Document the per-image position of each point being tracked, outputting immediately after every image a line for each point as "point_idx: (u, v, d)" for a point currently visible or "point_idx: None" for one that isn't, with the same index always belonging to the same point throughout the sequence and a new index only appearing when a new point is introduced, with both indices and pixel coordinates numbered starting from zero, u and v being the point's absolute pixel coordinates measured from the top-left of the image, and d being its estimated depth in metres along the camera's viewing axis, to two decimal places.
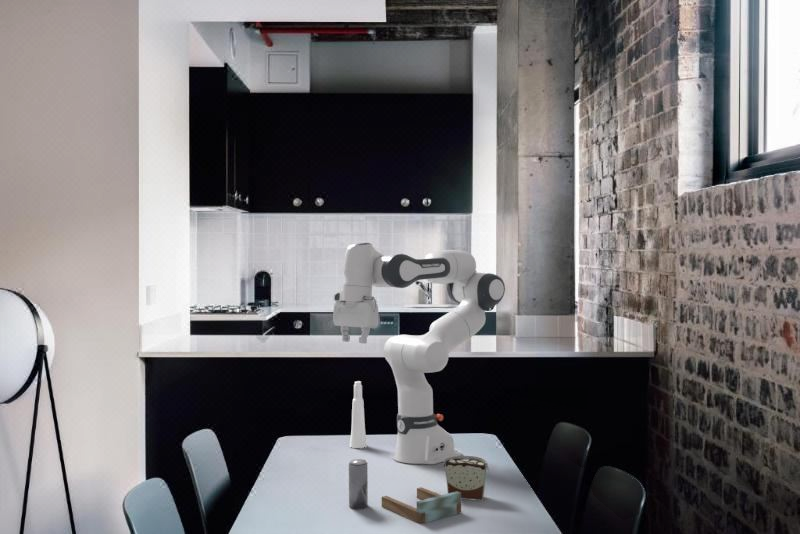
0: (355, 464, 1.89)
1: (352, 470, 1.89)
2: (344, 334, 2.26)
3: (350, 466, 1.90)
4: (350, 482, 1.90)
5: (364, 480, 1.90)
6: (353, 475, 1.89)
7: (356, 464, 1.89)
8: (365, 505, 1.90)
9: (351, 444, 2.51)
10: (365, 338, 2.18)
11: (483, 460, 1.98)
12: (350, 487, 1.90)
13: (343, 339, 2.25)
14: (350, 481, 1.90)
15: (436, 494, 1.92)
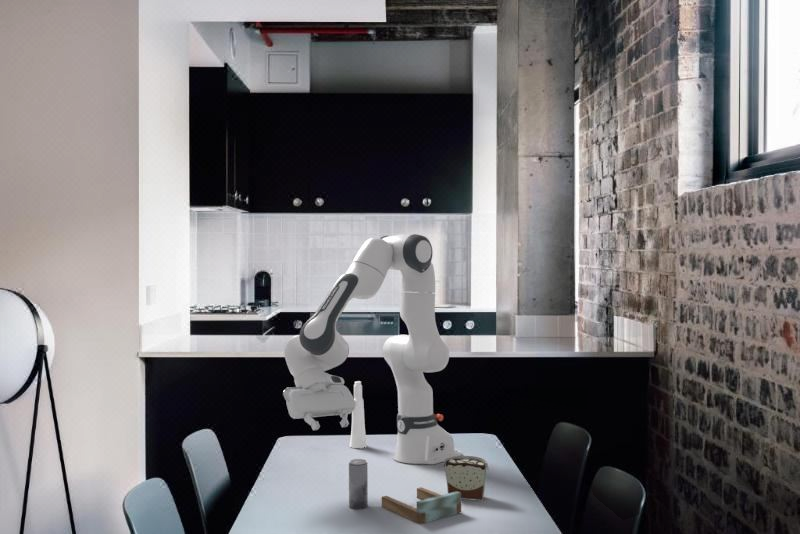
0: (355, 464, 1.89)
1: (352, 470, 1.89)
2: None
3: (350, 466, 1.90)
4: (350, 482, 1.90)
5: (364, 480, 1.90)
6: (353, 475, 1.89)
7: (356, 464, 1.89)
8: (365, 505, 1.90)
9: (351, 444, 2.51)
10: (313, 423, 1.98)
11: (483, 460, 1.98)
12: (350, 487, 1.90)
13: None
14: (350, 481, 1.90)
15: (436, 494, 1.92)
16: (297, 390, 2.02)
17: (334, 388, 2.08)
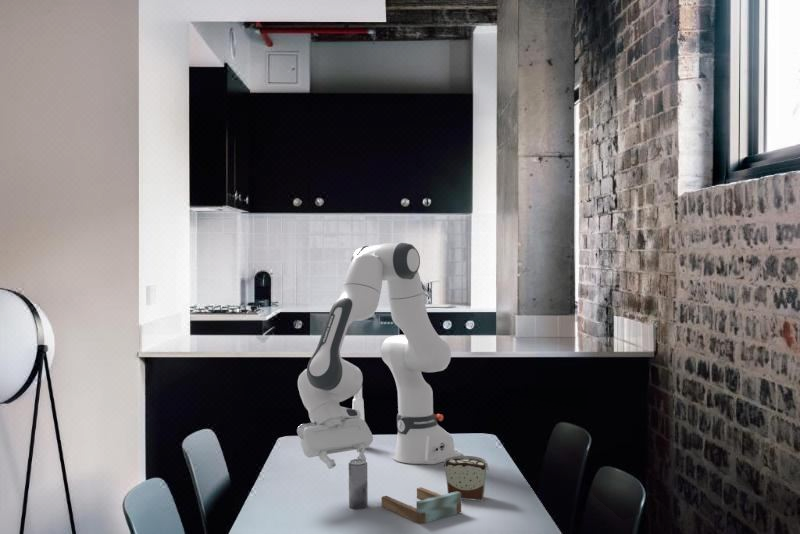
0: (355, 464, 1.89)
1: (352, 470, 1.89)
2: None
3: (350, 466, 1.90)
4: (350, 482, 1.90)
5: (364, 480, 1.90)
6: (353, 475, 1.89)
7: (356, 464, 1.89)
8: (365, 505, 1.90)
9: None
10: (328, 461, 1.91)
11: (483, 460, 1.98)
12: (350, 487, 1.90)
13: None
14: (350, 481, 1.90)
15: (436, 494, 1.92)
16: (311, 427, 1.95)
17: (349, 422, 2.02)
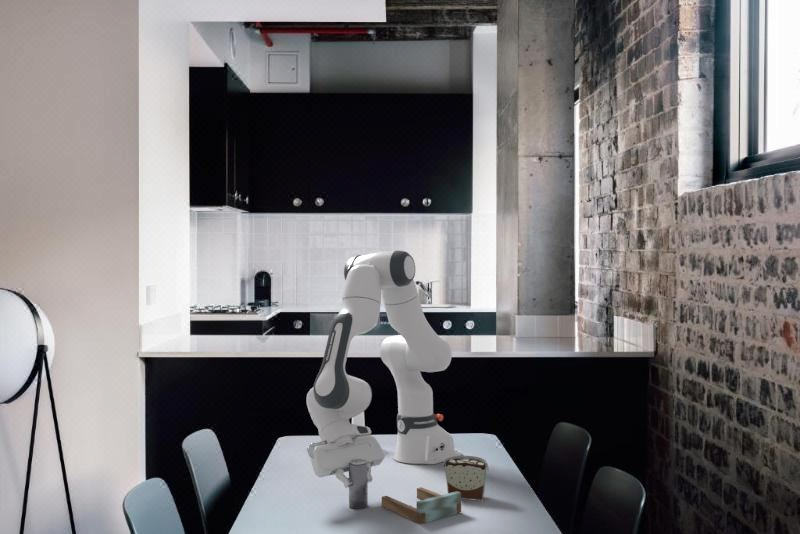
0: (355, 464, 1.89)
1: (352, 470, 1.89)
2: None
3: (350, 466, 1.90)
4: None
5: (364, 480, 1.90)
6: (353, 475, 1.89)
7: (356, 464, 1.89)
8: (365, 505, 1.90)
9: None
10: (345, 480, 1.89)
11: (483, 460, 1.98)
12: (350, 487, 1.90)
13: None
14: None
15: (436, 494, 1.92)
16: (321, 446, 1.92)
17: (360, 440, 1.98)
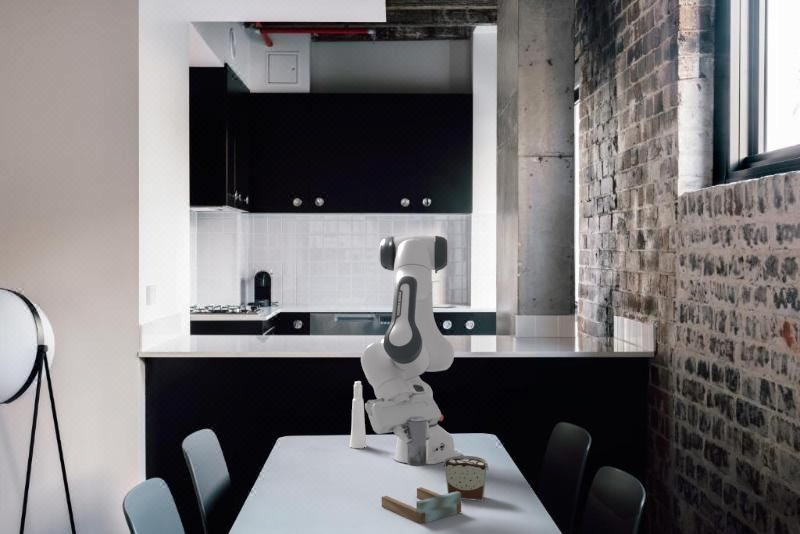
0: (414, 421, 1.87)
1: (411, 427, 1.87)
2: None
3: (409, 423, 1.87)
4: None
5: (423, 437, 1.87)
6: (412, 432, 1.87)
7: (415, 421, 1.87)
8: (424, 462, 1.87)
9: (351, 444, 2.51)
10: (404, 437, 1.87)
11: (483, 460, 1.98)
12: (409, 444, 1.87)
13: None
14: None
15: (436, 494, 1.92)
16: (379, 403, 1.90)
17: (417, 398, 1.96)
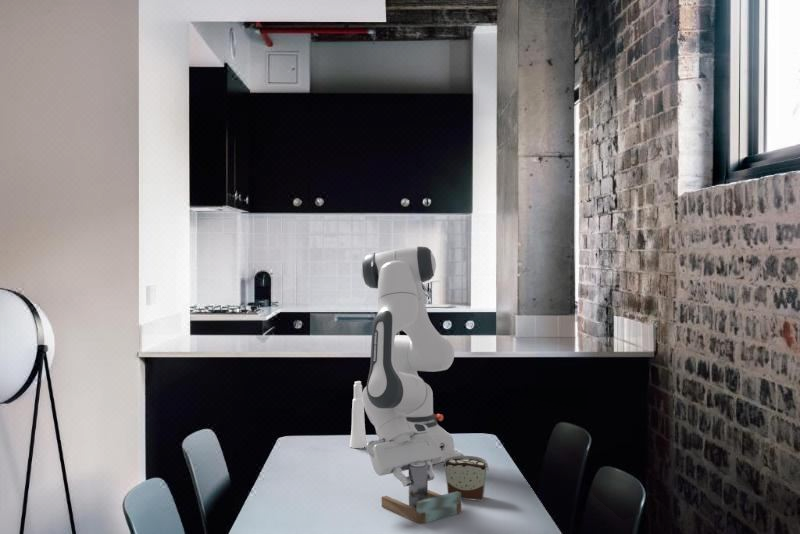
0: (415, 466, 1.87)
1: (413, 472, 1.87)
2: None
3: (410, 468, 1.87)
4: (410, 484, 1.88)
5: (424, 482, 1.87)
6: (414, 477, 1.87)
7: (416, 466, 1.87)
8: None
9: (351, 444, 2.51)
10: (403, 479, 1.86)
11: (483, 460, 1.98)
12: (410, 489, 1.88)
13: None
14: None
15: (436, 494, 1.92)
16: (381, 444, 1.90)
17: (418, 438, 1.96)
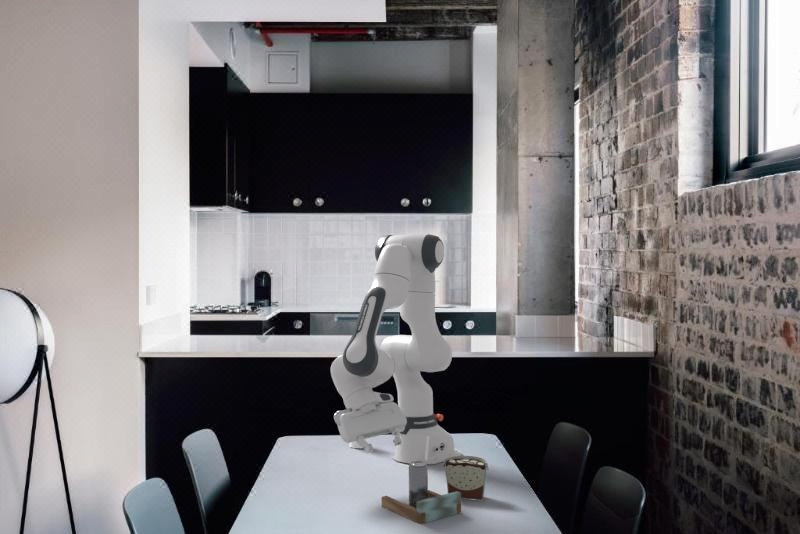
0: (416, 466, 1.87)
1: (413, 472, 1.87)
2: None
3: (410, 468, 1.88)
4: (410, 484, 1.88)
5: (425, 482, 1.87)
6: (414, 477, 1.87)
7: (417, 466, 1.87)
8: None
9: (351, 444, 2.51)
10: (366, 446, 1.98)
11: (483, 460, 1.98)
12: (410, 489, 1.88)
13: None
14: (410, 483, 1.88)
15: (436, 494, 1.92)
16: (347, 414, 2.02)
17: (383, 406, 2.08)
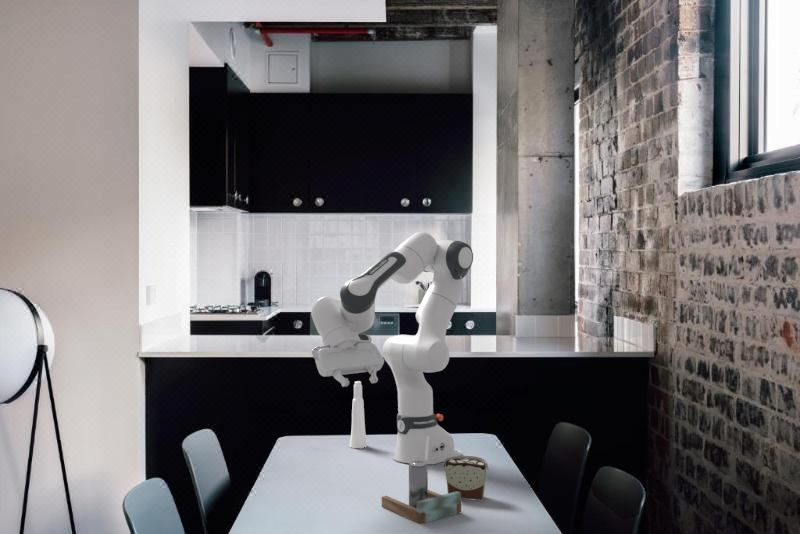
0: (416, 466, 1.87)
1: (413, 472, 1.87)
2: None
3: (410, 468, 1.88)
4: (410, 484, 1.88)
5: (425, 482, 1.87)
6: (414, 477, 1.87)
7: (417, 466, 1.87)
8: None
9: (351, 444, 2.51)
10: (342, 380, 2.01)
11: (483, 460, 1.98)
12: (410, 489, 1.88)
13: None
14: (410, 483, 1.88)
15: (436, 494, 1.92)
16: (325, 349, 2.05)
17: (361, 346, 2.11)
